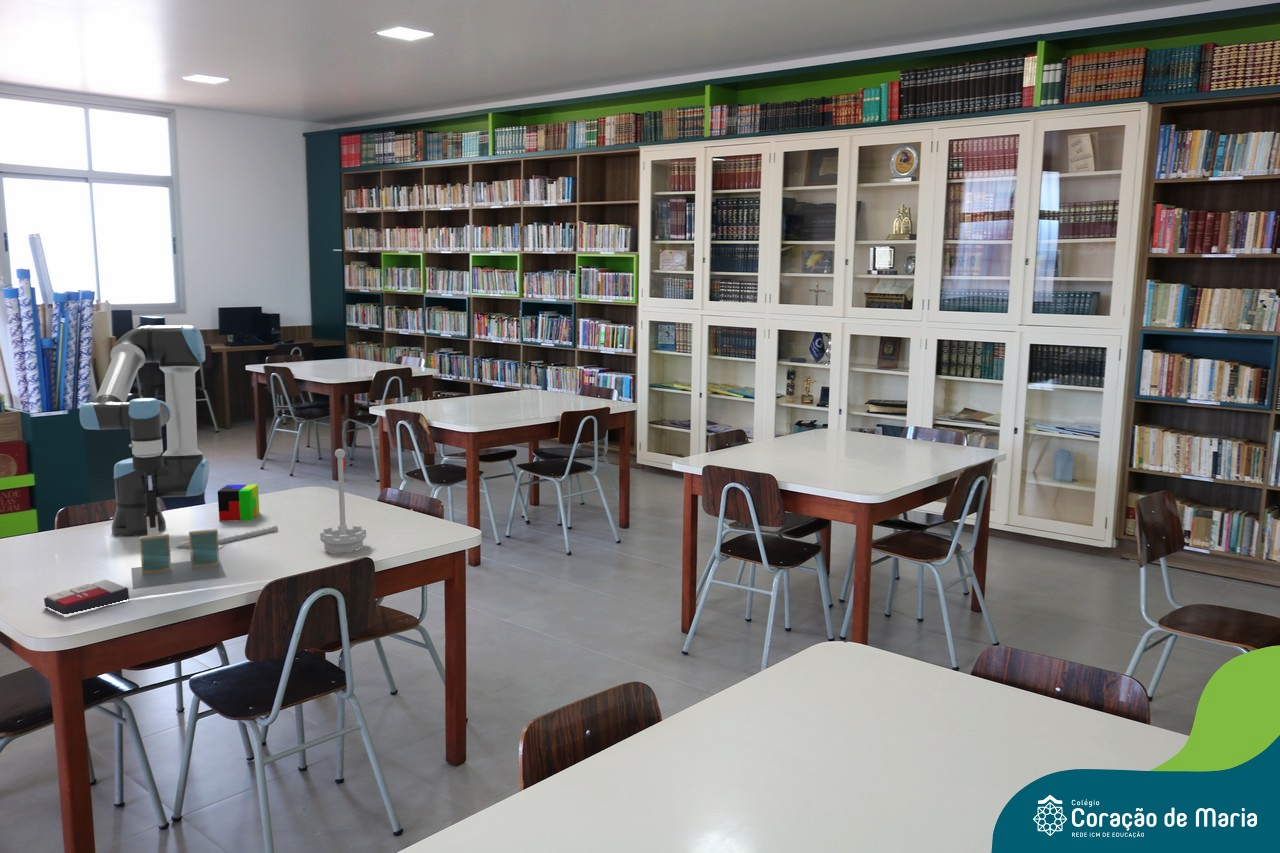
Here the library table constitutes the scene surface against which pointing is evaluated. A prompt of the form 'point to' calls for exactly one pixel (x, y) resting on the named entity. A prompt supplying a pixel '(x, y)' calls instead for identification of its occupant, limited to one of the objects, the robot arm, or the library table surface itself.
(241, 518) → the puzzle toy
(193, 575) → the mat
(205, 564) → the tile
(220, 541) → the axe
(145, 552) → the tile
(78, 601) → the black red flat box
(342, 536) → the flag stand
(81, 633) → the library table surface
